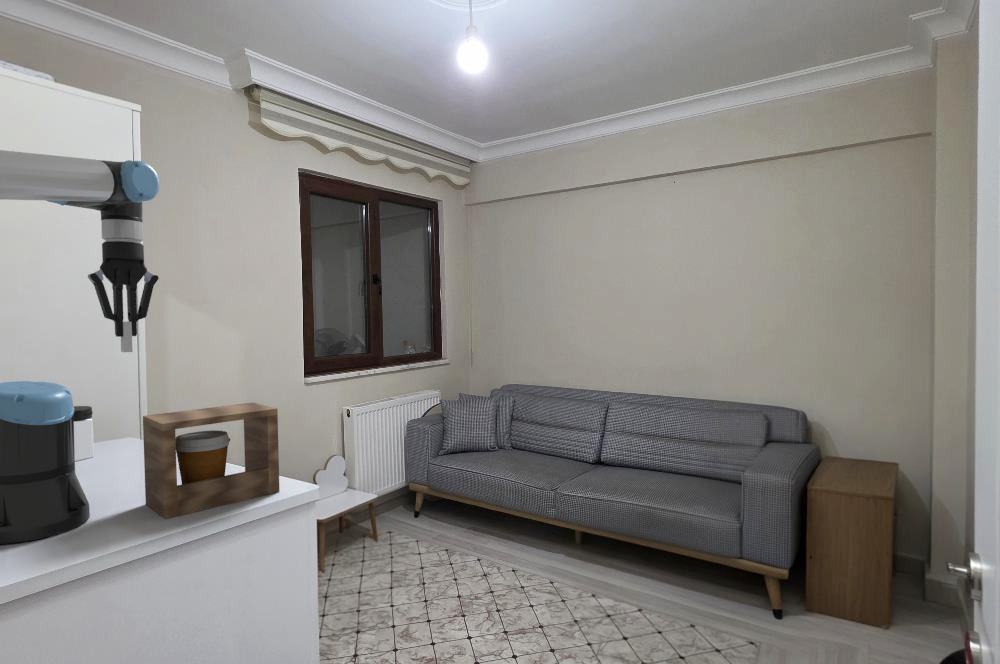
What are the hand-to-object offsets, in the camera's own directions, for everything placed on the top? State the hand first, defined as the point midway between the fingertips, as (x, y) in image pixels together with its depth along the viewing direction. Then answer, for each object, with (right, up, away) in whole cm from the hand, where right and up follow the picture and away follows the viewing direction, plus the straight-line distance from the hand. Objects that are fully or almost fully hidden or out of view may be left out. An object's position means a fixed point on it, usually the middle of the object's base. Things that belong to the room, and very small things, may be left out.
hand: (126, 351), depth 126 cm
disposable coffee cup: (+25, -27, -17) cm, 41 cm away
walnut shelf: (+27, -27, -17) cm, 42 cm away
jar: (-22, -26, +14) cm, 37 cm away
